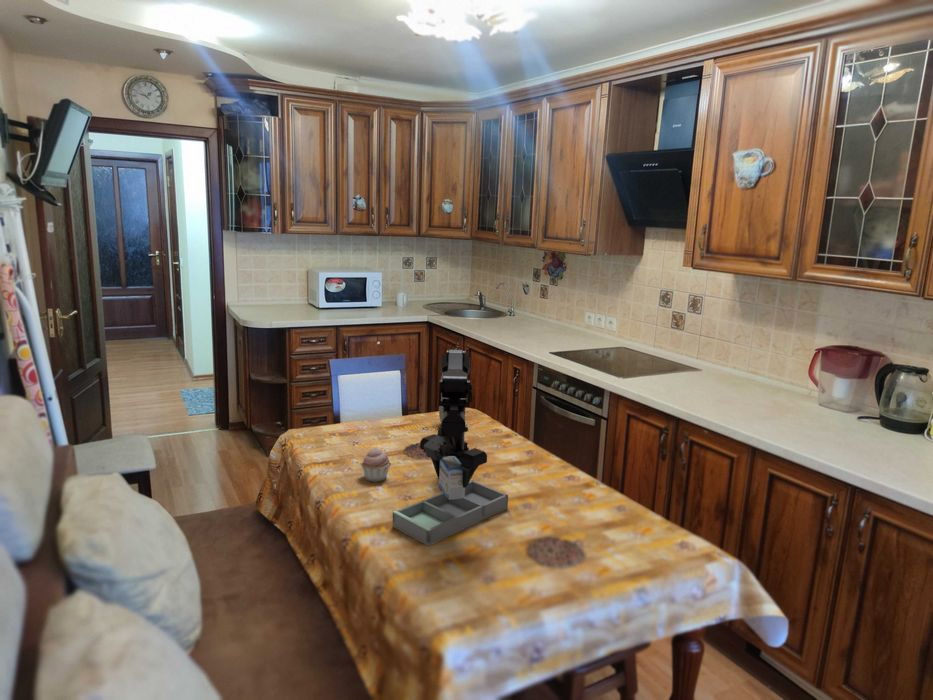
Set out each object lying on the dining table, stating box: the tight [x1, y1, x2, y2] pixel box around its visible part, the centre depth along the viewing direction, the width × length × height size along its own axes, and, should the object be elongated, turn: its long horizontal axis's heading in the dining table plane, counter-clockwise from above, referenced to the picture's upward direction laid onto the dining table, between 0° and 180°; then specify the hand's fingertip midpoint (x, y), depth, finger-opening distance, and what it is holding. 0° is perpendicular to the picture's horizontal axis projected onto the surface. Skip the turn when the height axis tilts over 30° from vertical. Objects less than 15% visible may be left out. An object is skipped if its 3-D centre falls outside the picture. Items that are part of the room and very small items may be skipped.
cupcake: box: [360, 446, 392, 483], centre depth 192 cm, size 9×9×10 cm
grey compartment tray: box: [392, 479, 509, 547], centre depth 169 cm, size 14×30×4 cm, turn 136°
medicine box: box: [438, 456, 465, 500], centre depth 162 cm, size 8×4×9 cm, turn 21°
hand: (451, 481), depth 162 cm, fingers closed on medicine box, 9 cm apart
